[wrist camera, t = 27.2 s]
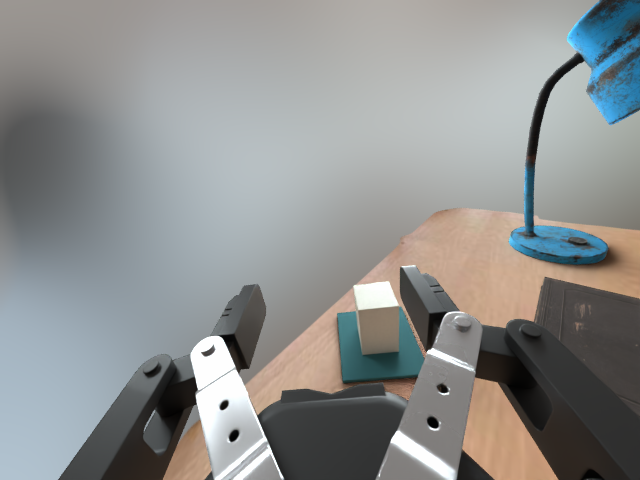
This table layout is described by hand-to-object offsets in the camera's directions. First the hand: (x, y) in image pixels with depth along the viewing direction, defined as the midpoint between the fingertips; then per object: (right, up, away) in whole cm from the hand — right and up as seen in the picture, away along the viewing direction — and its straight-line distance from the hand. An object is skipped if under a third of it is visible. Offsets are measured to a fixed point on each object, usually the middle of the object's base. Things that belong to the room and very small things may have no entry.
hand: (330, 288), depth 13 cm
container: (+9, -13, +24) cm, 29 cm away
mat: (+9, -14, +24) cm, 29 cm away
